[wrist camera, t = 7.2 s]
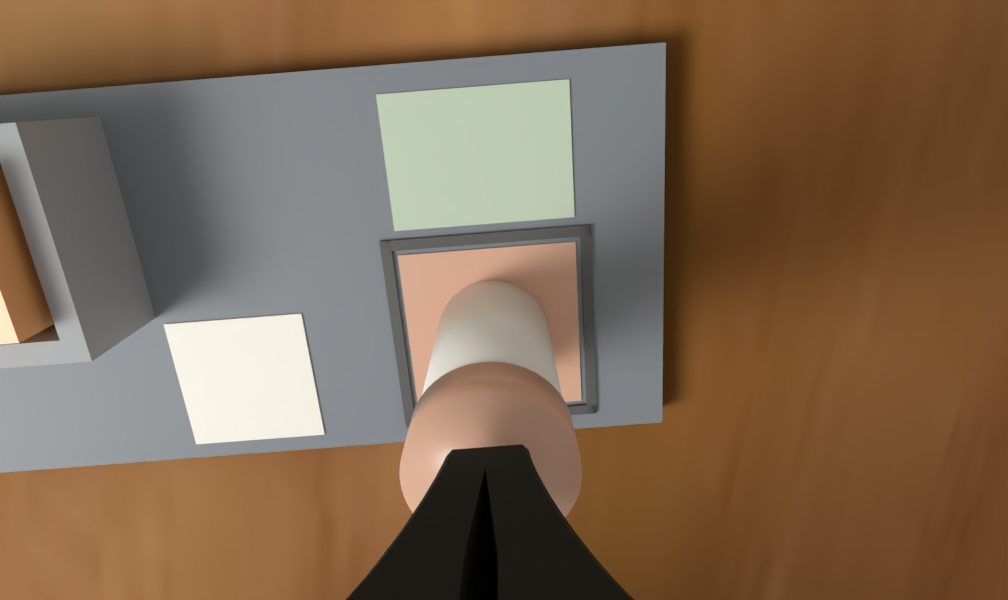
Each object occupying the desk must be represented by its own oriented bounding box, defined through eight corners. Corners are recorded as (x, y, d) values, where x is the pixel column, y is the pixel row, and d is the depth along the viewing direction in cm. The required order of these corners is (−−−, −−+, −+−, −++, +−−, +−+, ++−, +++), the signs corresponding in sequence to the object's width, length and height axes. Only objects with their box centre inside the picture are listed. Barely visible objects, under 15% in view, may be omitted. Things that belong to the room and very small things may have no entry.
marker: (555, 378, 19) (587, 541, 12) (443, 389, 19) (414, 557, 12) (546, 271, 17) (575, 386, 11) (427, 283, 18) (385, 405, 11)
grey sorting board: (657, 412, 20) (691, 480, 16) (9, 461, 20) (-91, 539, 17) (659, 43, 16) (704, 31, 13) (-130, 106, 16) (-293, 111, 13)
